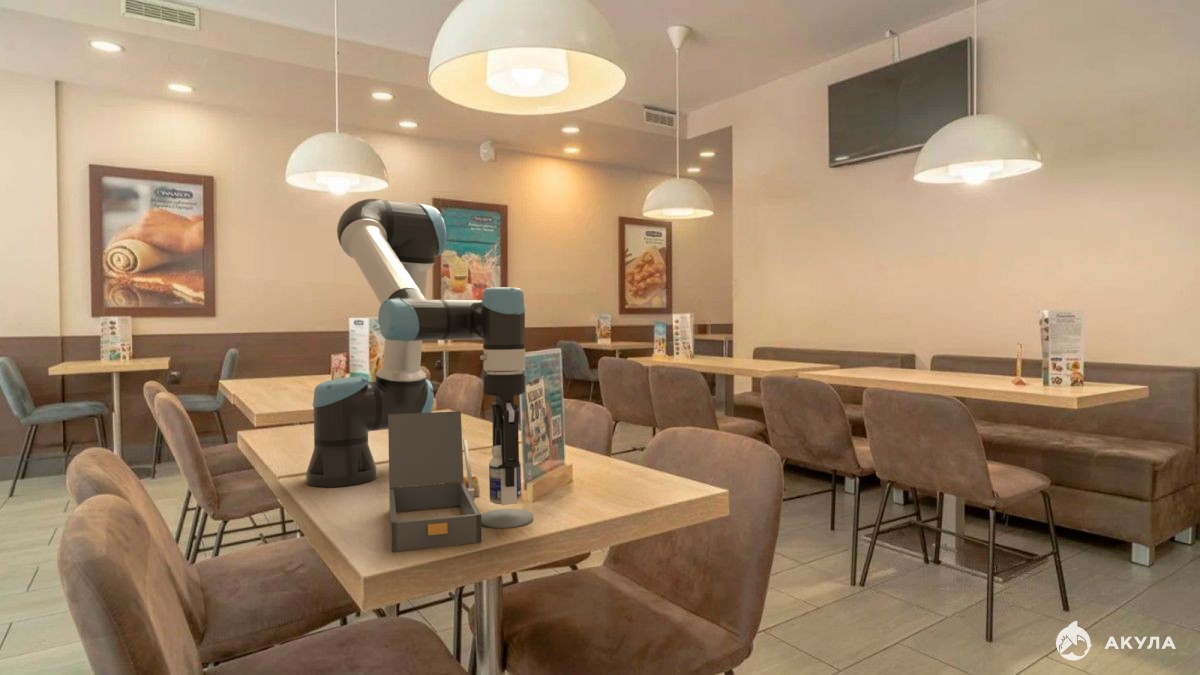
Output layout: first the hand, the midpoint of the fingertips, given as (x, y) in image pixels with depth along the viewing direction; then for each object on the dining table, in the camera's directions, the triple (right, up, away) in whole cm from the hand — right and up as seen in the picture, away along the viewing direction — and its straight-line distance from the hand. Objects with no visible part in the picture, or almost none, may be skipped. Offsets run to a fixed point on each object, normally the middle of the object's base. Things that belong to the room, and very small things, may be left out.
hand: (505, 499), depth 121 cm
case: (-13, -4, -1) cm, 13 cm away
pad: (0, -4, 0) cm, 4 cm away
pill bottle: (0, -1, 0) cm, 1 cm away
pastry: (-12, -4, +19) cm, 23 cm away
